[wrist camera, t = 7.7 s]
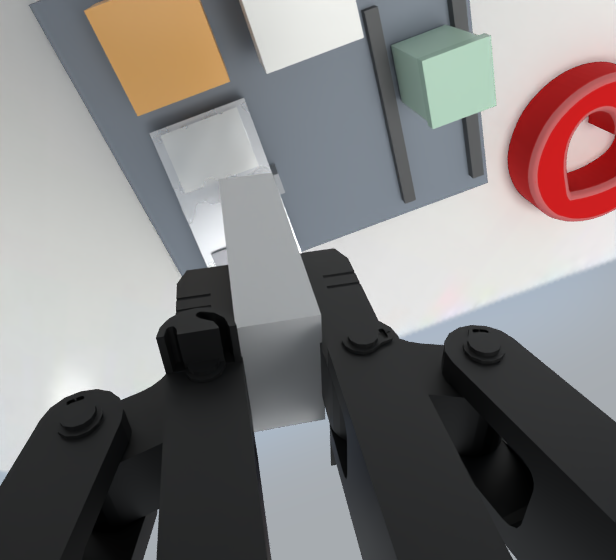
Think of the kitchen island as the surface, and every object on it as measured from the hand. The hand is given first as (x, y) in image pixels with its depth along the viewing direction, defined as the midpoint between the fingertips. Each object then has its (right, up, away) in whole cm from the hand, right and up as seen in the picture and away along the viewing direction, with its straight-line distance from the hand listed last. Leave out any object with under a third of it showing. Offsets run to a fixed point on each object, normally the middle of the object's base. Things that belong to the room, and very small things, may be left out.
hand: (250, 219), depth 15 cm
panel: (+1, +9, +14) cm, 17 cm away
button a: (-5, +9, +9) cm, 14 cm away
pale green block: (+8, +10, +12) cm, 17 cm away
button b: (+1, +11, +8) cm, 14 cm away
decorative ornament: (+19, +8, +20) cm, 29 cm away
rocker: (-2, +2, +12) cm, 13 cm away
